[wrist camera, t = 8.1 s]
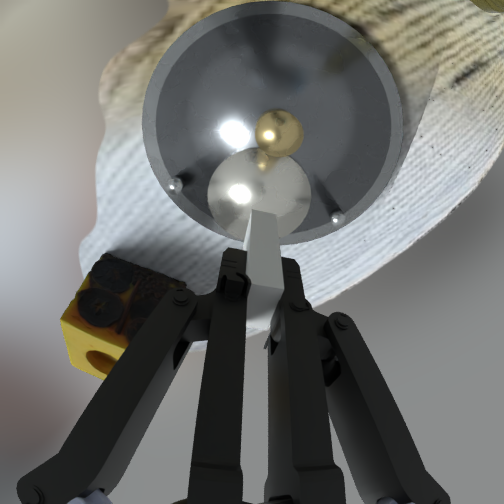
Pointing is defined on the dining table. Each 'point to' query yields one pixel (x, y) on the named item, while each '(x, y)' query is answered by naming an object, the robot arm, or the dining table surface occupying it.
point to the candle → (110, 312)
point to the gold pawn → (490, 5)
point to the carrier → (272, 121)
